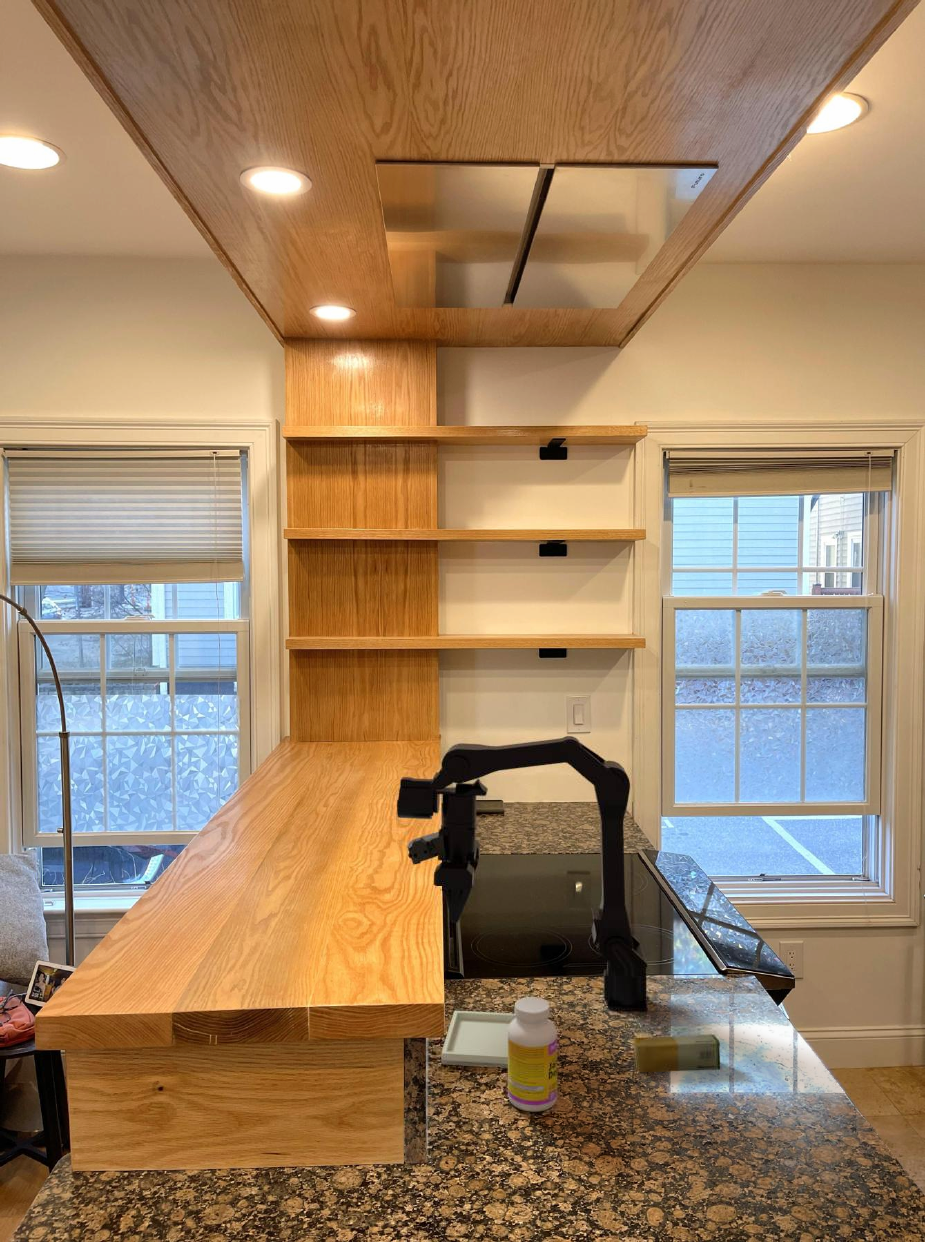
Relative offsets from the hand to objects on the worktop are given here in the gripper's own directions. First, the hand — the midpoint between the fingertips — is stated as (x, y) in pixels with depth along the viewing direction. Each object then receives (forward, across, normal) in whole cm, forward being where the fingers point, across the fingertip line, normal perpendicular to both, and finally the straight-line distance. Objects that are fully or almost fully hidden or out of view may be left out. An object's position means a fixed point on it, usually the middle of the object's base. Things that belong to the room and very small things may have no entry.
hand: (457, 911), depth 146 cm
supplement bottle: (+14, +29, +13) cm, 35 cm away
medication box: (+14, +19, +34) cm, 41 cm away
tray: (+14, +15, +7) cm, 22 cm away
